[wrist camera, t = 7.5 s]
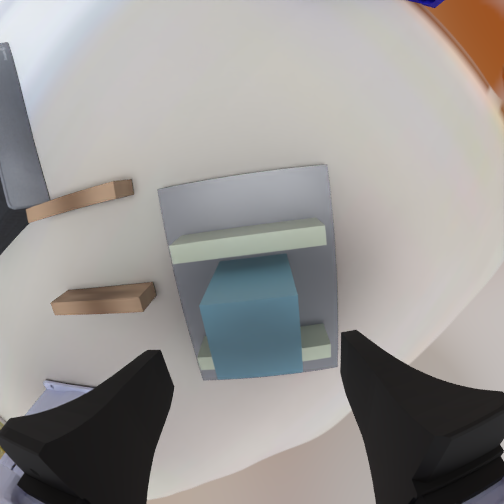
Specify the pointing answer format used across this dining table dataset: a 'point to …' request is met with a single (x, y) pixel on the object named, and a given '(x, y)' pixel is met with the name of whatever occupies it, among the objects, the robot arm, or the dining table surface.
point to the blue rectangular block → (253, 318)
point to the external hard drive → (16, 156)
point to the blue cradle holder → (428, 2)
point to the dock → (257, 247)
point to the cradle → (101, 297)
